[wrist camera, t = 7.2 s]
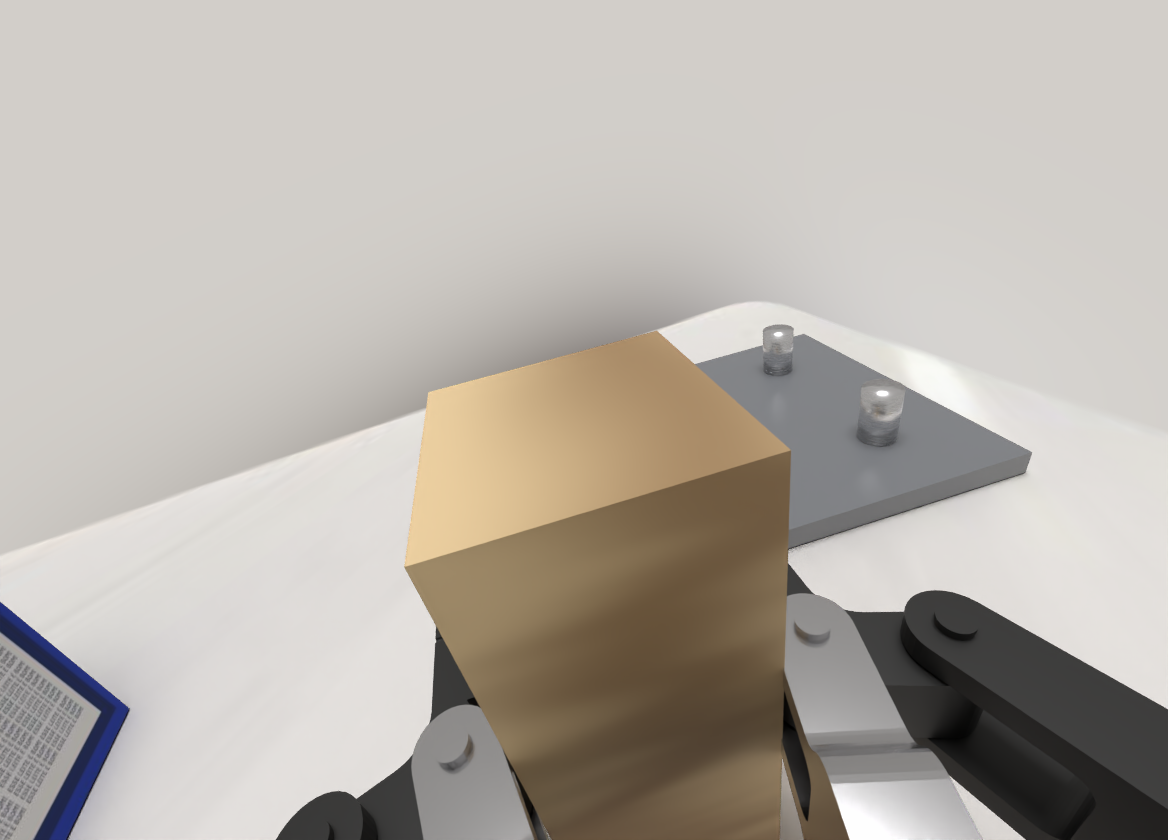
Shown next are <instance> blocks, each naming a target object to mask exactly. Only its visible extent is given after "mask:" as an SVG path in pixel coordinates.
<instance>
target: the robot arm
mask: <svg viewBox="0 0 1168 840" xmlns="http://www.w3.org/2000/svg"><path fill="white" fill-rule="evenodd" d="M783 688H784V705H783V738H782V739H781V755H782V759H783V762H784V766H785V769H786V773H787V777H788V780H789V784H790V787H791V791H792V794H793V798H794V802H795V805H796V809H797V812H798V816H799V820H800V824H801V828H802V832H803V837H804V840H983V839H982V837H981V835H980V833H979V831H978V829H977V828H976V826H975V824H974V822H973V820H972V818H971V816H970V814H969V812H968V811H967V809H966V807H965V805H964V803H963V801H962V799H961V797H960V795H959V793H958V792H957V790H956V788H955V786H954V784H953V782H952V780H951V778H950V777H949V776H951V777H952V778H953V779H954V780H955V781H957V782H958V783H959V784H960V785H961V786H963V787H964V788H965V789H966V790H967V791H969V792H970V793H971V794H972V795H973V796H974V797H976V798H977V799H978V800H979V801H980V802H982V803H983V804H984V805H985V806H986V807H988V808H989V809H990V810H991V811H992V812H994V813H995V814H996V815H997V816H998V817H1000V818H1001V819H1002V820H1003V821H1004V822H1006V823H1007V824H1008V825H1009V826H1010V827H1011V828H1013V829H1014V830H1015V831H1016V832H1017V833H1019V834H1020V835H1021V836H1022V837H1023V838H1025V839H1026V840H1168V709H1166V708H1164V707H1163V706H1161V705H1159V704H1157V703H1156V702H1154V701H1152V700H1150V699H1148V698H1147V697H1145V696H1143V695H1141V694H1140V693H1138V692H1136V691H1134V690H1132V689H1131V688H1129V687H1127V686H1125V685H1124V684H1122V683H1120V682H1118V681H1116V680H1115V679H1113V678H1111V677H1109V676H1108V675H1106V674H1104V673H1102V672H1100V671H1099V670H1097V669H1095V668H1093V667H1092V666H1090V665H1088V664H1086V663H1084V662H1083V661H1081V660H1079V659H1077V658H1076V657H1074V656H1072V655H1070V654H1068V653H1067V652H1065V651H1063V650H1061V649H1060V648H1058V647H1056V646H1054V645H1052V644H1051V643H1049V642H1047V641H1045V640H1044V639H1042V638H1040V637H1038V636H1036V635H1035V634H1033V633H1031V632H1029V631H1028V630H1026V629H1024V628H1022V627H1020V626H1019V625H1017V624H1015V623H1013V622H1012V621H1010V620H1008V619H1006V618H1004V617H1003V616H1001V615H999V614H997V613H996V612H994V611H992V610H990V609H988V608H987V607H985V606H983V605H981V604H980V603H978V602H976V601H974V600H972V599H970V598H968V597H965V596H962V595H960V594H956V593H953V592H947V591H937V590H934V591H925V592H921V593H919V594H916V595H914V596H913V597H912V598H910V600H909V601H908V602H907V604H906V606H905V610H904V612H854V611H848V610H844V609H842V608H841V607H840V606H839V605H837V604H836V603H834V602H833V601H831V600H829V599H827V598H824V597H821V596H818V595H815V594H813V593H812V592H811V591H810V590H809V588H808V587H807V586H806V585H805V584H804V582H803V581H802V580H801V579H800V577H799V576H798V575H797V574H796V572H795V571H794V570H793V569H792V568H791V566H790V565H789V564H788V572H787V605H786V639H785V667H784V668H783ZM276 840H549V838H548V836H547V833H546V830H545V827H544V825H543V822H542V821H541V819H540V817H539V815H538V813H537V811H536V810H535V808H534V806H533V804H532V802H531V800H530V798H529V797H528V795H527V793H526V791H525V789H524V787H523V785H522V784H521V782H520V780H519V778H518V776H517V774H516V773H515V771H514V769H513V767H512V765H511V763H510V761H509V760H508V758H507V756H506V754H505V752H504V750H503V749H502V747H501V745H500V743H499V741H498V739H497V737H496V736H495V734H494V732H493V730H492V728H491V726H490V724H489V723H488V721H487V719H486V717H485V715H484V713H483V712H482V710H481V708H480V706H479V704H478V702H477V700H476V699H475V697H474V695H473V693H472V691H471V689H470V688H469V686H468V684H467V682H466V680H465V678H464V676H463V675H462V673H461V671H460V669H459V667H458V665H457V663H456V662H455V660H454V658H453V656H452V654H451V652H450V651H449V649H448V647H447V645H446V643H445V641H444V639H443V638H442V636H441V634H440V632H439V630H438V628H437V626H436V643H435V658H434V678H433V697H432V713H431V720H430V723H429V725H428V726H427V727H426V728H425V730H424V731H423V733H422V734H421V736H420V738H419V740H418V741H417V744H416V746H415V749H414V752H413V755H412V756H411V757H410V759H409V760H408V761H407V762H406V763H405V764H404V765H402V766H401V767H400V768H399V769H398V770H396V771H395V772H394V773H392V774H391V775H390V776H388V777H387V778H385V779H384V780H383V781H381V782H380V783H378V784H377V785H375V786H374V787H373V788H371V789H370V790H368V791H367V792H366V793H364V794H363V795H361V796H360V797H359V798H357V799H356V798H354V797H353V796H352V795H351V794H349V793H346V792H341V791H336V792H330V793H326V794H323V795H321V796H319V797H317V798H315V799H313V800H312V801H310V802H309V803H307V804H306V805H305V806H304V807H302V808H301V809H300V810H299V811H298V812H297V813H296V814H295V815H294V816H293V817H292V818H291V819H290V821H289V822H288V823H287V824H286V825H285V827H284V828H283V830H282V831H281V832H280V834H279V836H278V837H277V839H276Z"/></svg>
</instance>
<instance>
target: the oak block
mask: <svg viewBox="0 0 1168 840" xmlns="http://www.w3.org/2000/svg"><path fill="white" fill-rule="evenodd" d="M790 471H791V450H790V449H789V448H788V447H787V446H786V445H785V444H784V443H783V442H781V441H780V440H779V439H778V438H777V437H776V436H775V435H774V434H772V433H771V432H770V431H769V430H768V429H767V428H766V427H765V426H763V425H762V424H761V423H760V422H759V421H758V420H757V419H756V418H754V417H753V416H752V415H751V414H750V413H749V412H748V411H746V410H745V409H744V408H743V407H742V406H741V405H740V404H739V403H737V402H736V401H735V400H734V399H733V398H732V397H731V396H730V395H728V394H727V393H726V392H725V391H724V390H723V389H722V388H721V387H719V386H718V385H717V384H716V383H715V382H714V381H713V380H712V379H710V378H709V377H708V376H707V375H706V374H705V373H704V372H703V371H701V370H700V369H699V368H698V367H697V366H696V365H695V364H694V363H692V362H691V361H690V360H689V359H688V358H687V357H686V356H685V355H683V354H682V353H681V352H680V351H679V350H678V349H677V348H676V347H674V346H673V345H672V344H671V343H670V342H669V341H668V340H667V339H665V338H664V337H663V336H662V335H661V334H660V333H659V332H658V331H654V332H651V333H647V334H643V335H639V336H636V337H632V338H628V339H625V340H621V341H617V342H613V343H610V344H606V345H602V346H599V347H595V348H591V349H588V350H584V351H580V352H577V353H573V354H569V355H565V356H561V357H558V358H554V359H550V360H547V361H543V362H540V363H536V364H532V365H528V366H524V367H521V368H517V369H513V370H509V371H506V372H502V373H498V374H495V375H491V376H487V377H483V378H480V379H476V380H472V381H469V382H465V383H461V384H457V385H454V386H450V387H446V388H443V389H439V390H435V391H432V392H429V393H428V400H427V407H426V414H425V421H424V429H423V436H422V443H421V450H420V458H419V465H418V472H417V479H416V486H415V494H414V501H413V508H412V515H411V523H410V530H409V537H408V544H407V551H406V559H405V566H404V567H405V569H406V571H407V573H408V575H409V577H410V578H411V580H412V582H413V584H414V586H415V588H416V590H417V591H418V593H419V595H420V597H421V599H422V601H423V602H424V604H425V606H426V608H427V610H428V612H429V614H430V615H431V617H432V619H433V621H434V623H435V625H436V626H437V628H438V630H439V632H440V634H441V636H442V638H443V639H444V641H445V643H446V645H447V647H448V649H449V651H450V652H451V654H452V656H453V658H454V660H455V662H456V663H457V665H458V667H459V669H460V671H461V673H462V675H463V676H464V678H465V680H466V682H467V684H468V686H469V688H470V689H471V691H472V693H473V695H474V697H475V699H476V700H477V702H478V704H479V706H480V708H481V710H482V712H483V713H484V715H485V717H486V719H487V721H488V723H489V724H490V726H491V728H492V730H493V732H494V734H495V736H496V737H497V739H498V741H499V743H500V745H501V747H502V749H503V750H504V752H505V754H506V756H507V758H508V760H509V761H510V763H511V765H512V767H513V769H514V771H515V773H516V774H517V776H518V778H519V780H520V782H521V784H522V785H523V787H524V789H525V791H526V793H527V795H528V797H529V798H530V800H531V802H532V804H533V806H534V808H535V810H536V811H537V813H538V815H539V817H540V819H541V821H542V822H543V824H544V826H545V828H546V830H547V832H548V834H549V835H550V837H551V839H552V840H779V839H780V806H781V772H782V755H781V739H782V738H783V705H784V688H783V668H784V667H785V639H786V605H787V572H788V538H789V505H790Z"/></svg>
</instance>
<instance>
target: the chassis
mask: <svg viewBox="0 0 1168 840" xmlns="http://www.w3.org/2000/svg"><path fill="white" fill-rule="evenodd" d="M793 330H794V329H793V328H792V327H791V326H788V325H772V326H769V327H766V328H765V329H764V330H763V346H759V347H755V348H752V349H748V350H745V351H741V352H737V353H734V354H730V355H727V356H723V357H719V358H716V359H712V360H709V361H705V362H701V363H698V364H695V365H696V366H697V367H698V368H699V369H700V370H701V371H703V372H704V373H705V374H706V375H707V376H708V377H709V378H710V379H712V380H713V381H714V382H715V383H716V384H717V385H718V386H719V387H721V388H722V389H723V390H724V391H725V392H726V393H727V394H728V395H730V396H731V397H732V398H733V399H734V400H735V401H736V402H737V403H739V404H740V405H741V406H742V407H743V408H744V409H745V410H746V411H748V412H749V413H750V414H751V415H752V416H753V417H754V418H756V419H757V420H758V421H759V422H760V423H761V424H762V425H763V426H765V427H766V428H767V429H768V430H769V431H770V432H771V433H772V434H774V435H775V436H776V437H777V438H778V439H779V440H780V441H781V442H783V443H784V444H785V445H786V446H787V447H788V448H789V449H790V450H791V471H790V505H789V538H788V549H789V548H792V547H795V546H798V545H801V544H805V543H808V542H811V541H814V540H817V539H820V538H823V537H826V536H829V535H833V534H836V533H839V532H842V531H845V530H848V529H851V528H854V527H857V526H860V525H864V524H867V523H870V522H873V521H876V520H879V519H882V518H885V517H888V516H892V515H895V514H898V513H901V512H904V511H907V510H910V509H913V508H916V507H919V506H923V505H926V504H929V503H932V502H935V501H938V500H941V499H944V498H947V497H951V496H954V495H957V494H960V493H963V492H966V491H969V490H972V489H975V488H978V487H982V486H985V485H988V484H991V483H994V482H997V481H1000V480H1003V479H1006V478H1010V477H1013V476H1016V475H1019V474H1022V473H1025V472H1026V469H1027V466H1028V463H1029V460H1030V457H1031V454H1032V452H1030V451H1028V450H1026V449H1025V448H1023V447H1021V446H1019V445H1017V444H1015V443H1013V442H1011V441H1009V440H1007V439H1005V438H1003V437H1001V436H999V435H998V434H996V433H994V432H992V431H990V430H988V429H986V428H984V427H982V426H980V425H978V424H976V423H974V422H973V421H971V420H969V419H967V418H965V417H963V416H961V415H959V414H957V413H955V412H953V411H951V410H949V409H948V408H946V407H944V406H942V405H940V404H938V403H936V402H934V401H932V400H930V399H928V398H926V397H924V396H922V395H921V394H919V393H917V392H915V391H913V390H911V389H909V388H907V387H905V386H904V385H903V384H901V383H899V382H897V381H894V380H892V379H890V378H888V377H886V376H884V375H882V374H880V373H878V372H876V371H874V370H872V369H870V368H869V367H867V366H865V365H863V364H861V363H859V362H857V361H855V360H853V359H851V358H849V357H847V356H845V355H844V354H842V353H840V352H838V351H836V350H834V349H832V348H830V347H828V346H826V345H824V344H822V343H820V342H819V341H817V340H815V339H813V338H811V337H809V336H807V335H805V334H802V335H798V336H795V337H793Z"/></svg>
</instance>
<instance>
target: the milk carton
mask: <svg viewBox="0 0 1168 840" xmlns="http://www.w3.org/2000/svg"><path fill="white" fill-rule="evenodd" d="M129 709H130V708H128V707H127V706H126V705H125V704H123V703H122V702H121V701H120V700H118V699H117V698H116V697H115V696H114V695H112V694H111V693H110V692H109V691H108V690H106V689H105V688H104V687H103V686H102V685H100V684H99V683H98V682H97V681H95V680H94V679H93V678H92V677H91V676H89V675H88V674H87V673H86V672H85V671H83V670H82V669H81V668H80V667H79V666H77V665H76V664H75V663H74V662H72V661H71V660H70V659H69V658H68V657H66V656H65V655H64V654H63V653H62V652H60V651H59V650H58V649H57V648H55V647H54V646H53V645H52V644H51V643H49V642H48V641H47V640H46V639H45V638H43V637H42V636H41V635H40V634H39V633H37V632H36V631H35V630H34V629H32V628H31V627H30V626H29V625H28V624H26V623H25V622H24V621H23V620H22V619H20V618H19V617H18V616H17V615H16V614H14V613H13V612H12V611H11V610H9V609H8V608H7V607H6V606H5V605H3V604H2V603H1V602H0V840H67V838H68V835H69V833H70V831H71V829H72V827H73V825H74V823H75V821H76V819H77V817H78V815H79V813H80V811H81V808H82V806H83V804H84V802H85V800H86V798H87V796H88V794H89V792H90V790H91V788H92V786H93V783H94V781H95V779H96V777H97V775H98V773H99V771H100V769H101V767H102V765H103V763H104V761H105V759H106V756H107V754H108V752H109V750H110V748H111V746H112V744H113V742H114V740H115V738H116V736H117V734H118V732H119V729H120V727H121V725H122V723H123V721H124V719H125V717H126V715H127V713H128V711H129Z"/></svg>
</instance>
